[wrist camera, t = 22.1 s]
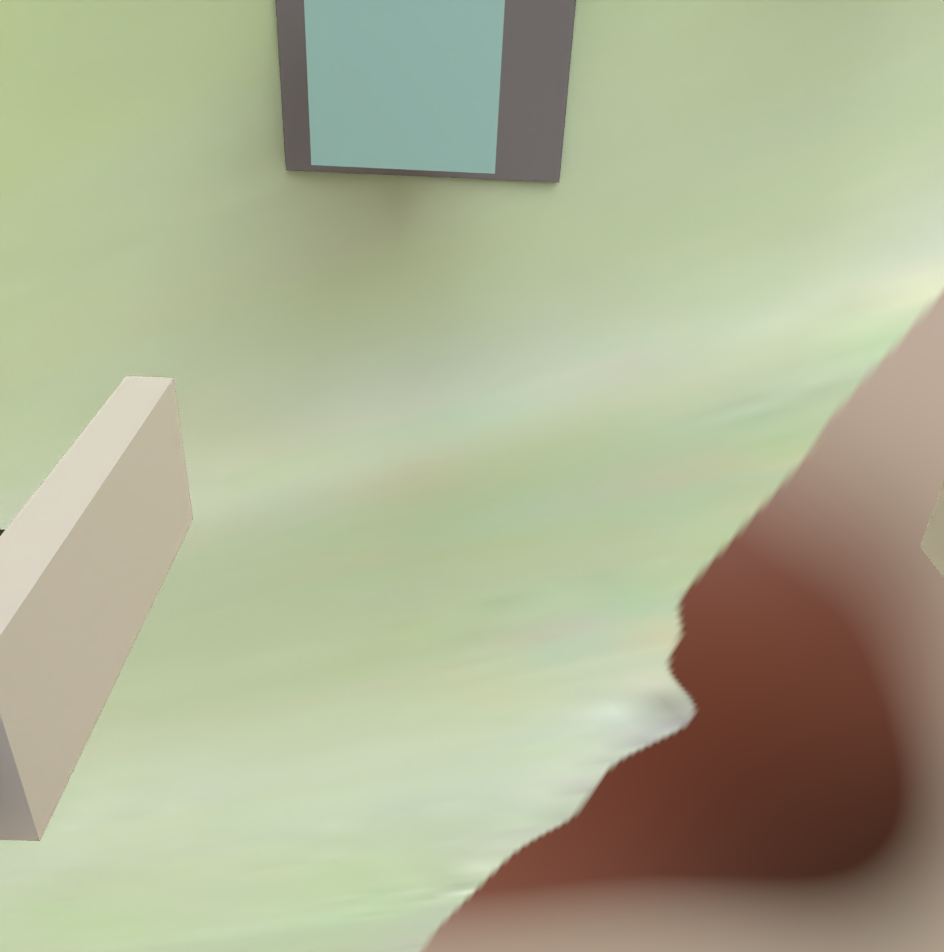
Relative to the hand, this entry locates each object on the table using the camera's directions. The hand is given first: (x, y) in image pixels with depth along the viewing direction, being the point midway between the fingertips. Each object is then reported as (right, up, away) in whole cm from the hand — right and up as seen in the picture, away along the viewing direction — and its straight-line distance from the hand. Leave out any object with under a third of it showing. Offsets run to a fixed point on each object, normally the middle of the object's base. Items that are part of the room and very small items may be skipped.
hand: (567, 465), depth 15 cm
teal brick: (-4, +16, +19) cm, 25 cm away
